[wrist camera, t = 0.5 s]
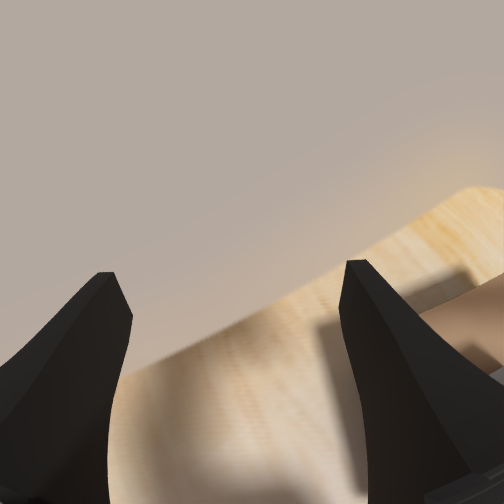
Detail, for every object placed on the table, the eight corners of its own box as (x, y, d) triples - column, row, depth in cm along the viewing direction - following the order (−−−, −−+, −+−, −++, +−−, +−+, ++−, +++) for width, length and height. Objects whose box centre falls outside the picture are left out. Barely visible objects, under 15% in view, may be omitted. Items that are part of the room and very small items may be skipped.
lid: (572, 433, 9) (603, 426, 5) (396, 536, 11) (402, 557, 8) (512, 271, 18) (531, 240, 14) (348, 344, 20) (343, 324, 17)
